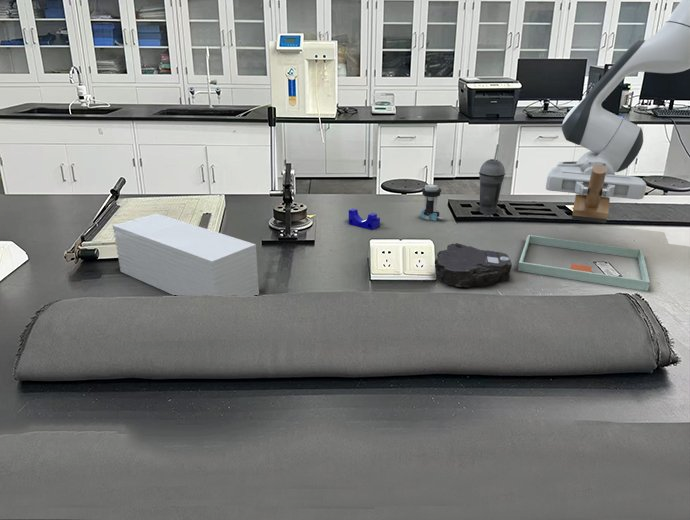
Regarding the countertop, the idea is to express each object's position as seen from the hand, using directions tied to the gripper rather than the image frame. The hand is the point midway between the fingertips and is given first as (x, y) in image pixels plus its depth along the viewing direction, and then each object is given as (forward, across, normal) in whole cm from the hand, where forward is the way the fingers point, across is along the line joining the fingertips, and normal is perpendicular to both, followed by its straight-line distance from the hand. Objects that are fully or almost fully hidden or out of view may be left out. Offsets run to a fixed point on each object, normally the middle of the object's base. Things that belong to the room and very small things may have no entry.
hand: (594, 192), depth 113 cm
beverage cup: (-32, +26, -17) cm, 45 cm away
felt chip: (+6, 0, -16) cm, 17 cm away
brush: (-5, 0, -6) cm, 8 cm away
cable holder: (-7, +55, -17) cm, 58 cm away
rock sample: (+15, +22, -17) cm, 32 cm away
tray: (0, 0, -17) cm, 17 cm away
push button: (-18, +39, -17) cm, 46 cm away
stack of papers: (+43, +76, -17) cm, 89 cm away
